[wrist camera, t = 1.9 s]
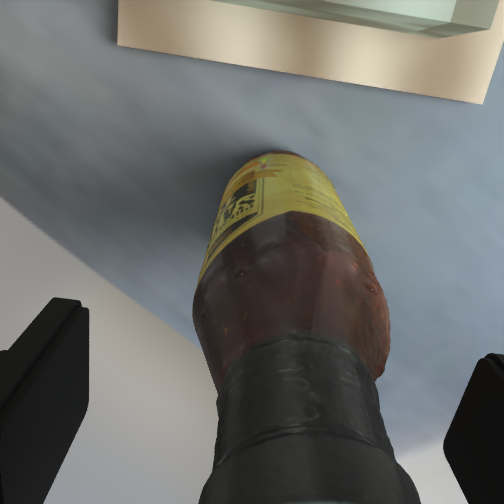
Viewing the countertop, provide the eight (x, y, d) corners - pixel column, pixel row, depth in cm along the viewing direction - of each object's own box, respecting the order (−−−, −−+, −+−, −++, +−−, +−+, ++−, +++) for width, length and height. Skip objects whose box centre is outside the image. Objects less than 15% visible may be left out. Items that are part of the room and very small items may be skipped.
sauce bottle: (235, 135, 24) (142, 361, 5) (346, 161, 24) (624, 452, 6) (213, 246, 26) (98, 660, 8) (314, 267, 26) (434, 710, 8)
